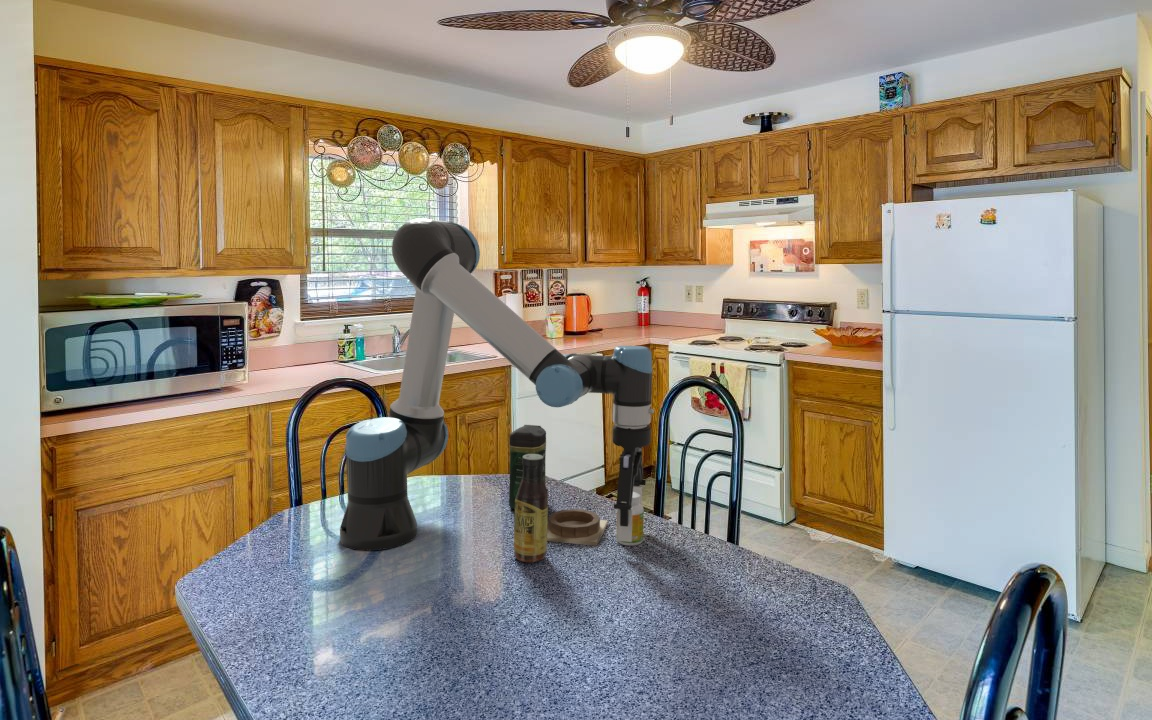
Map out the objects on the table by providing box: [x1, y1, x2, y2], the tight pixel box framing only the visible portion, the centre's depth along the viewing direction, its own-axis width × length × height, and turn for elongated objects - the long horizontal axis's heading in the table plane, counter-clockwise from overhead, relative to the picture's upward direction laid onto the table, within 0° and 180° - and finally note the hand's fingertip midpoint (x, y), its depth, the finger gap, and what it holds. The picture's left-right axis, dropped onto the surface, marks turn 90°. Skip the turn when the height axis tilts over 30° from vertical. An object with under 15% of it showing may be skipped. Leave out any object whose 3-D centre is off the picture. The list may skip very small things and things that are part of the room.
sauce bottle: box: [513, 454, 549, 564], centre depth 129 cm, size 7×6×20 cm
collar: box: [547, 508, 609, 546], centre depth 143 cm, size 12×12×3 cm
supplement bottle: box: [615, 492, 645, 547], centre depth 138 cm, size 5×5×10 cm
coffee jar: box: [508, 424, 547, 510], centre depth 158 cm, size 10×8×19 cm
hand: (629, 527), depth 138 cm, fingers open, 13 cm apart
